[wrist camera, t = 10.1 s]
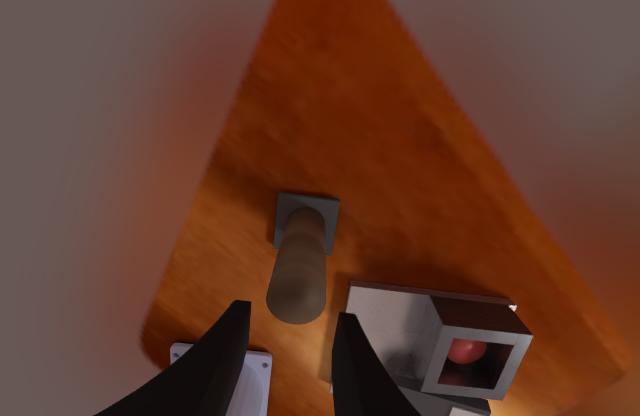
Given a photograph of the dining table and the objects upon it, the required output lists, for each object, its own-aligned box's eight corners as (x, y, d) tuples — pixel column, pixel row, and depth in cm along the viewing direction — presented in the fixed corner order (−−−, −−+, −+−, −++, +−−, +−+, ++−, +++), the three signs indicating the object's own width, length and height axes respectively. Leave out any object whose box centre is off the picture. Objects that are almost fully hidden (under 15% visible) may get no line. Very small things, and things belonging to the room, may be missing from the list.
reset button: (470, 349, 25) (479, 365, 24) (434, 345, 25) (441, 361, 23) (482, 320, 24) (491, 335, 23) (444, 315, 24) (452, 330, 22)
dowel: (325, 243, 22) (325, 324, 15) (286, 242, 22) (267, 323, 15) (325, 207, 21) (326, 275, 14) (285, 206, 21) (264, 274, 14)
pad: (330, 252, 23) (331, 255, 23) (273, 245, 23) (273, 248, 22) (339, 199, 22) (340, 201, 21) (279, 191, 21) (278, 193, 21)
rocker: (474, 429, 25) (477, 444, 24) (382, 402, 26) (382, 415, 25) (487, 400, 24) (491, 414, 23) (391, 373, 25) (390, 385, 24)
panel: (468, 399, 28) (489, 445, 25) (329, 384, 28) (330, 429, 24) (510, 299, 24) (542, 336, 21) (350, 279, 24) (354, 314, 20)
